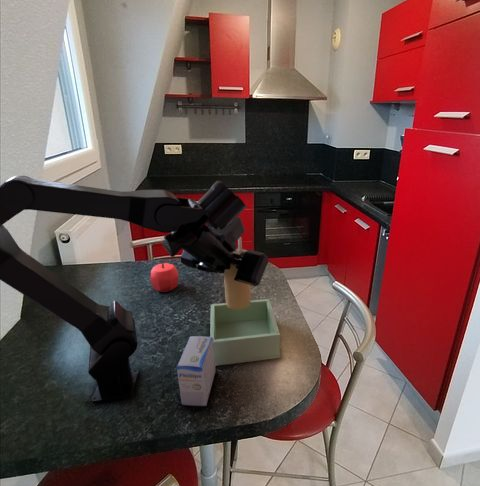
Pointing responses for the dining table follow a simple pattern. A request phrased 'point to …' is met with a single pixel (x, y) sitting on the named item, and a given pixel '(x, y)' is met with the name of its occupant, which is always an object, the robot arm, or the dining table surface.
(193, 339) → the medicine box
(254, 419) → the dining table surface
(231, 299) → the straw cup
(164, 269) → the apple
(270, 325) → the bin
